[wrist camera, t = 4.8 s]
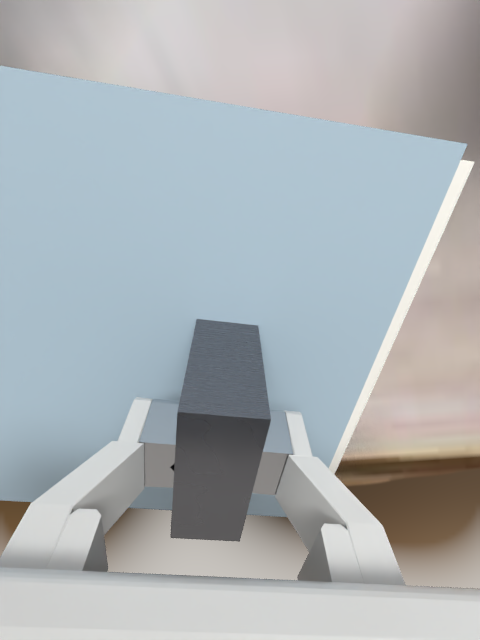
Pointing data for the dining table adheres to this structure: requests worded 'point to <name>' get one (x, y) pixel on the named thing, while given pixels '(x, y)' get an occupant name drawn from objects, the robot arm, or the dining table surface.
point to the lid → (194, 279)
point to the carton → (405, 301)
